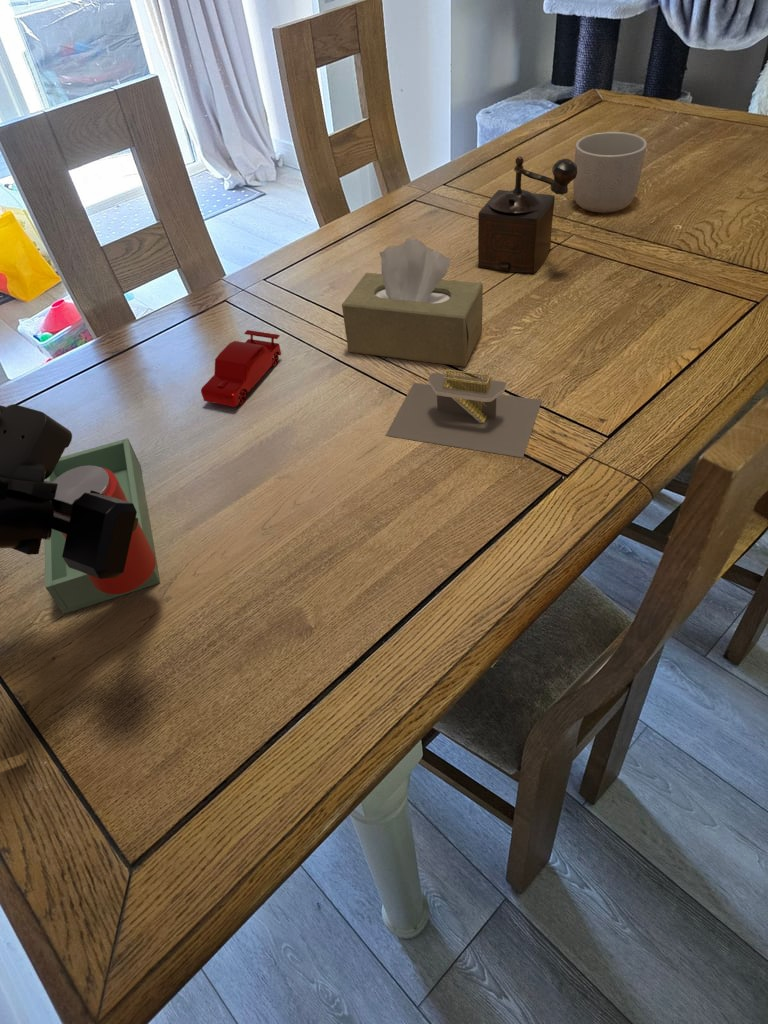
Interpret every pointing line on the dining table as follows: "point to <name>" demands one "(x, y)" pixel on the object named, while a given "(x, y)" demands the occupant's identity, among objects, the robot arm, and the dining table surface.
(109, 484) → the can
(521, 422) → the platform
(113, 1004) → the dining table surface
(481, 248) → the manual coffee grinder
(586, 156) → the planter
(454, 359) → the tissue box
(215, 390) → the toy car
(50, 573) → the bin
